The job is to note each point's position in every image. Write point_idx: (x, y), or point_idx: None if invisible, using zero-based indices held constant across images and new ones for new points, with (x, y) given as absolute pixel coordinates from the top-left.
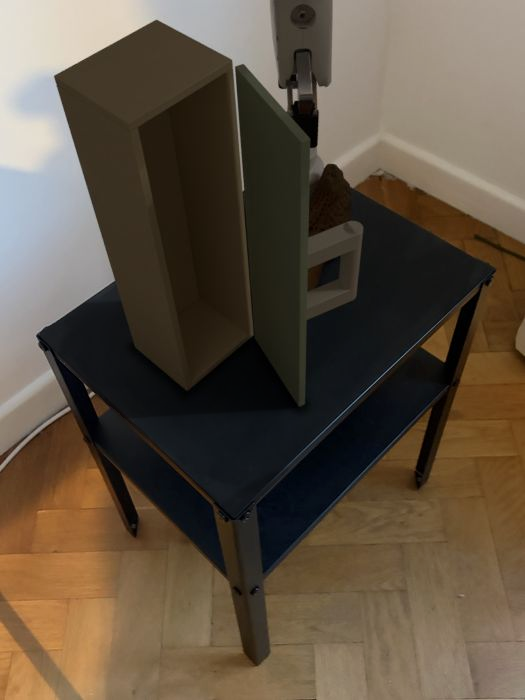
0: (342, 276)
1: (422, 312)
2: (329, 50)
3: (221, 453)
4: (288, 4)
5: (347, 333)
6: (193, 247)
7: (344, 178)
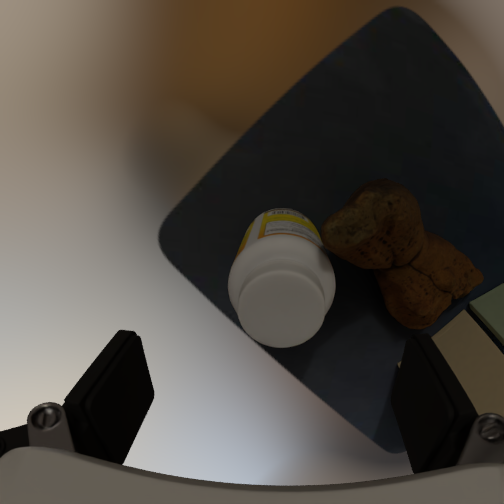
0: None
1: (469, 99)
2: None
3: None
4: None
5: (486, 202)
6: None
7: (354, 202)
